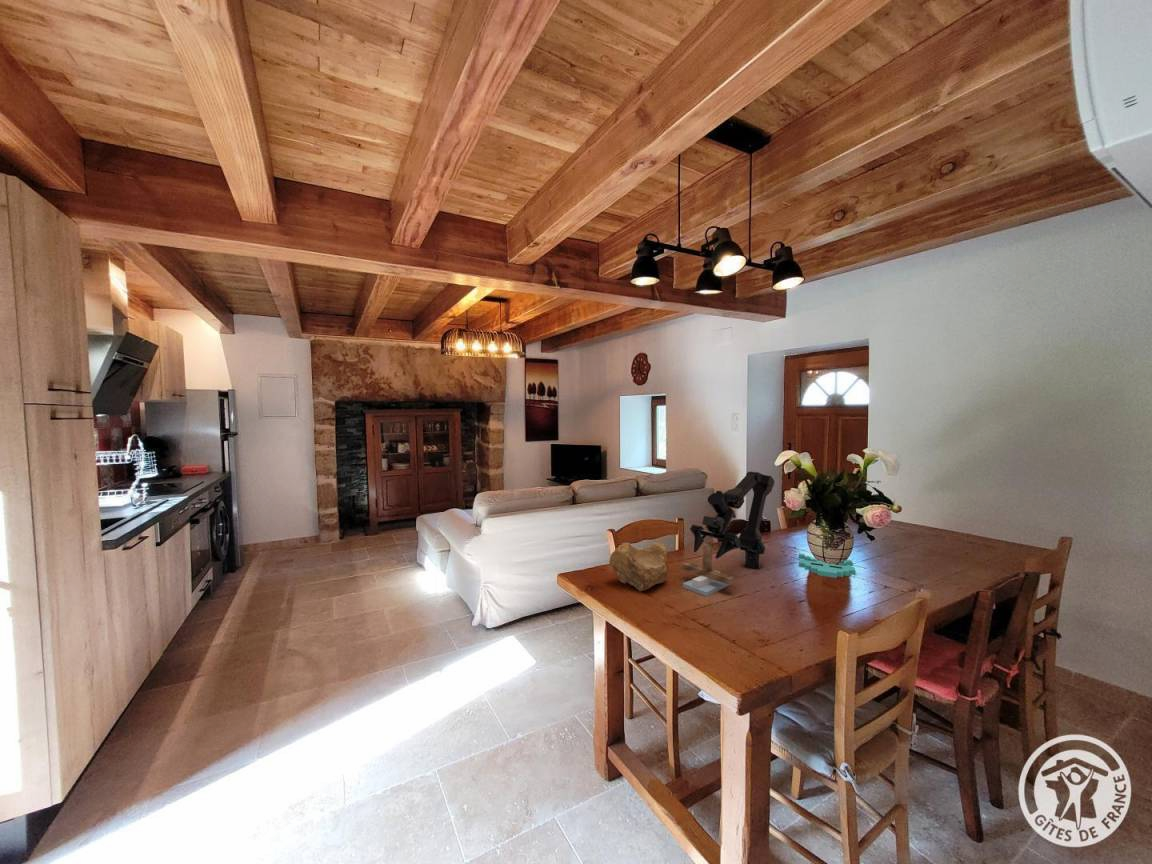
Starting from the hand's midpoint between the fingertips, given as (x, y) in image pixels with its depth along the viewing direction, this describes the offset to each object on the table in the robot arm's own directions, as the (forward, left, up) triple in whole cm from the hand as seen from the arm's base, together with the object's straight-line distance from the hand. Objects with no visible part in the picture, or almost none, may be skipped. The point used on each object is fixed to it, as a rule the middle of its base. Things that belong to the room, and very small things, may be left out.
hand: (705, 554), depth 158 cm
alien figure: (-41, +43, -13) cm, 61 cm away
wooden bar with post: (-1, +1, -8) cm, 8 cm away
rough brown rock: (+8, -21, -12) cm, 26 cm away
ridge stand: (-1, +1, -12) cm, 12 cm away
